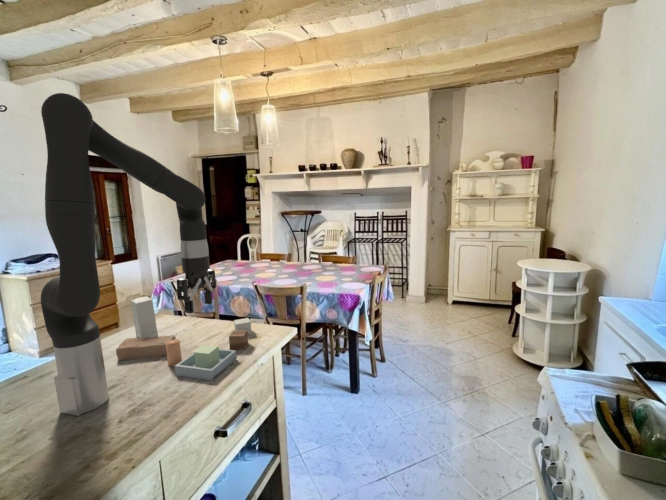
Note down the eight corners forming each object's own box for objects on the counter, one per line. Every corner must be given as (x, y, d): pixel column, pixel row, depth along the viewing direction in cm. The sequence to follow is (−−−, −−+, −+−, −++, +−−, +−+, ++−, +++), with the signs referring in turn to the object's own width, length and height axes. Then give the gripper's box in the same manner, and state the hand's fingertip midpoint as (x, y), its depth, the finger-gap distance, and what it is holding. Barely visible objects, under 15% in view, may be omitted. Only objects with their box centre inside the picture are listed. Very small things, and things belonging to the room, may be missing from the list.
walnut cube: (244, 349, 112) (243, 336, 111) (229, 350, 112) (228, 336, 111) (248, 343, 117) (247, 330, 116) (234, 343, 117) (233, 330, 116)
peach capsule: (175, 366, 101) (173, 345, 100) (165, 365, 102) (162, 344, 101) (184, 360, 105) (182, 340, 104) (174, 359, 106) (172, 338, 105)
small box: (249, 329, 130) (248, 317, 129) (251, 334, 125) (251, 322, 124) (234, 331, 128) (233, 319, 127) (236, 337, 122) (235, 324, 122)
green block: (210, 369, 98) (208, 353, 97) (195, 367, 99) (194, 352, 98) (219, 361, 102) (218, 346, 102) (205, 359, 104) (204, 344, 103)
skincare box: (158, 337, 124) (154, 299, 122) (140, 342, 120) (135, 303, 117) (151, 331, 130) (147, 295, 128) (134, 335, 126) (129, 298, 123)
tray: (212, 380, 93) (211, 370, 92) (175, 375, 96) (174, 365, 96) (236, 359, 105) (236, 350, 104) (203, 355, 108) (202, 346, 108)
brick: (177, 345, 117) (176, 332, 117) (171, 355, 109) (169, 342, 109) (126, 350, 114) (125, 338, 113) (116, 362, 106) (114, 348, 105)
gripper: (189, 259, 88) (194, 317, 90) (220, 251, 102) (224, 301, 104) (166, 258, 90) (171, 315, 93) (200, 251, 104) (204, 300, 106)
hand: (199, 307), depth 98 cm, fingers open, 8 cm apart
